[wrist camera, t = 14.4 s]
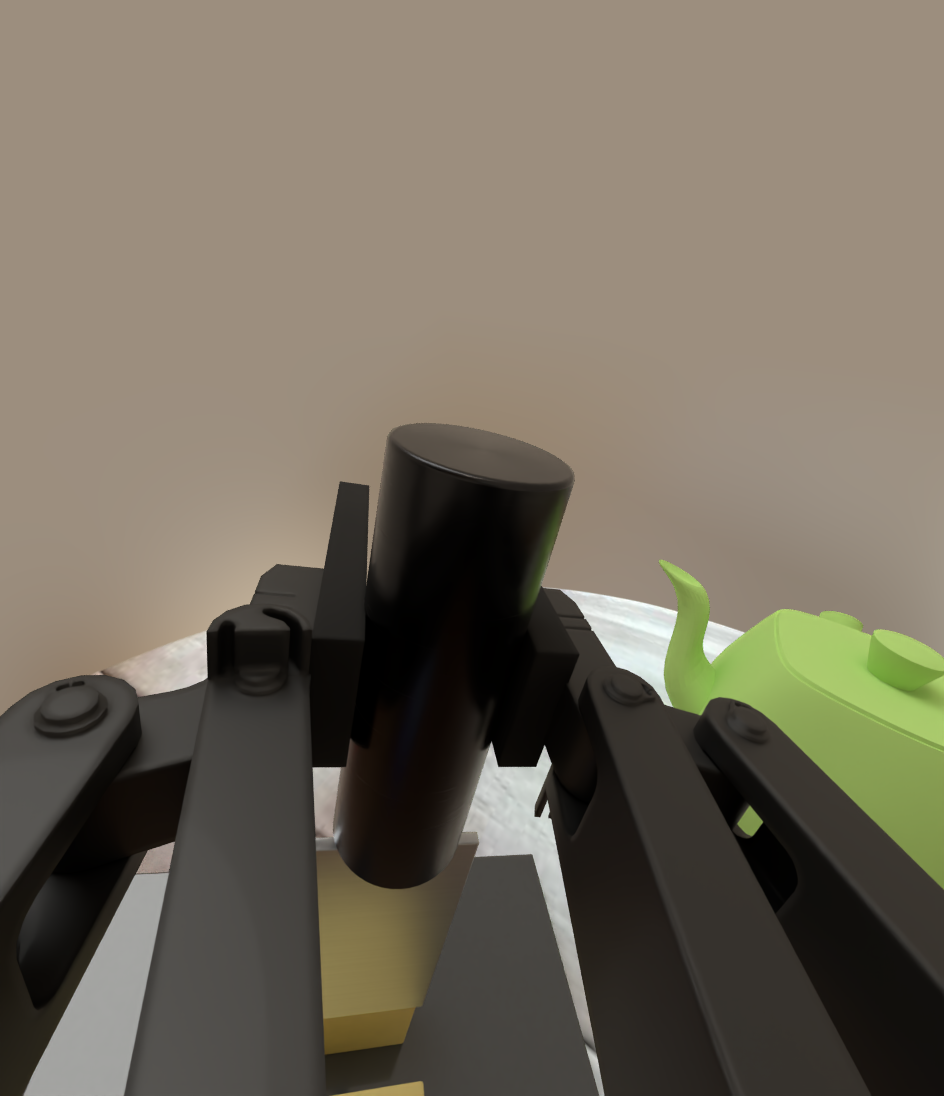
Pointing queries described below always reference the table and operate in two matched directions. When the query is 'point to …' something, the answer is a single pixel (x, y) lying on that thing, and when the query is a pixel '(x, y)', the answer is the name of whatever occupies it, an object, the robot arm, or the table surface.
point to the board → (436, 1027)
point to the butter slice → (366, 1030)
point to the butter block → (392, 1090)
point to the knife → (428, 698)
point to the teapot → (831, 707)
